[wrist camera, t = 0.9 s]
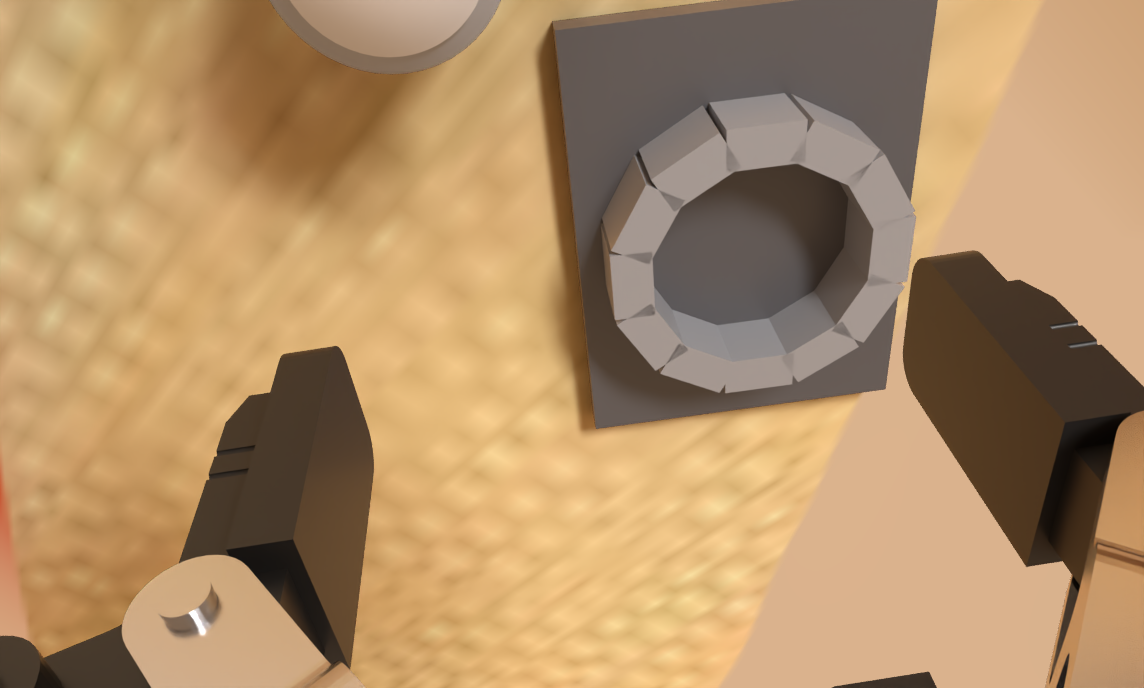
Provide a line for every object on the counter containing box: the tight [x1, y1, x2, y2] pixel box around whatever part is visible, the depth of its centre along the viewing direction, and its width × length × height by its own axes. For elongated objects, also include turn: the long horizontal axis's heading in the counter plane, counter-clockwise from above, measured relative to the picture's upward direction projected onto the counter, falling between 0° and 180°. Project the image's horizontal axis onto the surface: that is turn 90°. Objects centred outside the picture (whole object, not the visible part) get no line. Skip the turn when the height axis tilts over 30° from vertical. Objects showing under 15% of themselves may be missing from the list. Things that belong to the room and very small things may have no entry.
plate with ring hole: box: [552, 0, 938, 429], centre depth 32 cm, size 16×12×3 cm
